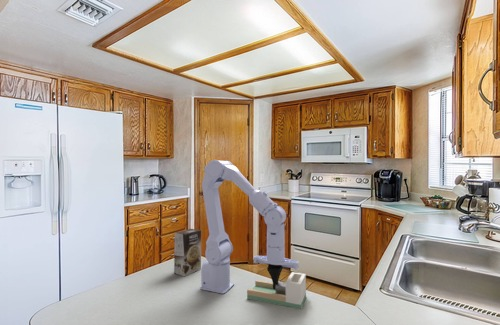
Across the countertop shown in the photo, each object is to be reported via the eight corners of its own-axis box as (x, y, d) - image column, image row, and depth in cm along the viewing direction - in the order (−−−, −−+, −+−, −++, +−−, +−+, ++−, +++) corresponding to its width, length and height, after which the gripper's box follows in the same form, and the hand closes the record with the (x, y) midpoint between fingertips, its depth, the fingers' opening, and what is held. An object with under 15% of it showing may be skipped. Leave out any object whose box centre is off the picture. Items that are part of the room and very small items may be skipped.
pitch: (247, 298, 83) (247, 275, 83) (256, 287, 90) (256, 266, 90) (300, 309, 76) (300, 284, 76) (305, 296, 84) (305, 274, 84)
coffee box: (185, 276, 100) (185, 234, 100) (173, 273, 103) (173, 232, 104) (201, 269, 107) (201, 229, 108) (190, 266, 111) (190, 227, 111)
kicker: (275, 294, 82) (275, 285, 82) (278, 290, 85) (278, 281, 85) (288, 297, 80) (288, 287, 80) (290, 293, 83) (290, 283, 83)
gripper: (300, 244, 85) (301, 286, 84) (258, 239, 90) (258, 279, 90) (295, 250, 78) (296, 296, 78) (251, 245, 84) (251, 288, 83)
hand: (275, 288), depth 83 cm, fingers closed, pressing on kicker
